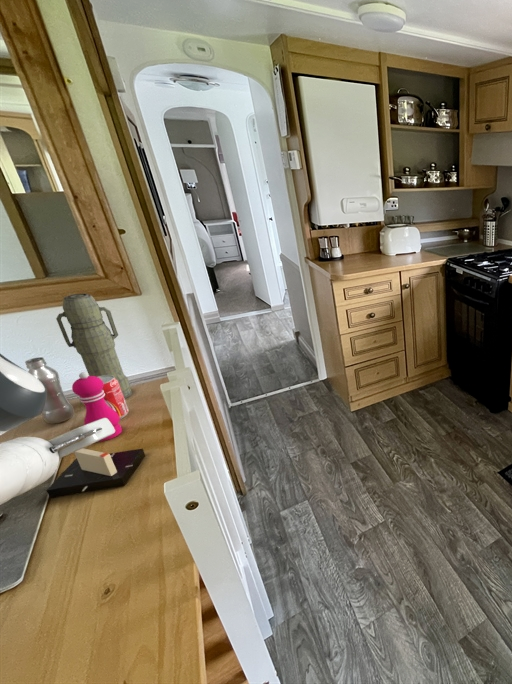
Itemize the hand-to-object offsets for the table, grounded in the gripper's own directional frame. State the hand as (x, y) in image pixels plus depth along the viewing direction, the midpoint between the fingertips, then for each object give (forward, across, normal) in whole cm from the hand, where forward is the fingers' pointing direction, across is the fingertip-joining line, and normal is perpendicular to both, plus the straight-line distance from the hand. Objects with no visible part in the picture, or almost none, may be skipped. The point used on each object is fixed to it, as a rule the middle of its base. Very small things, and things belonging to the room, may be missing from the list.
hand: (64, 446), depth 74 cm
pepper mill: (+39, +8, +1) cm, 40 cm away
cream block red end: (+19, +5, +8) cm, 21 cm away
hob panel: (+20, +7, +10) cm, 23 cm away
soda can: (+48, +8, -3) cm, 49 cm away
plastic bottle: (+53, +21, -8) cm, 57 cm away
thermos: (+62, +10, -9) cm, 63 cm away
